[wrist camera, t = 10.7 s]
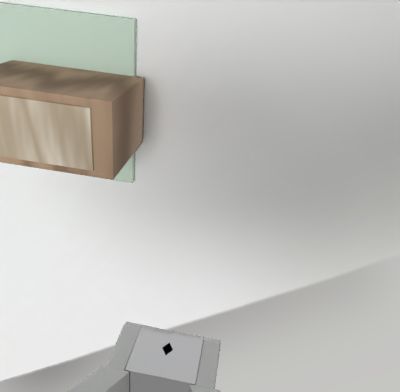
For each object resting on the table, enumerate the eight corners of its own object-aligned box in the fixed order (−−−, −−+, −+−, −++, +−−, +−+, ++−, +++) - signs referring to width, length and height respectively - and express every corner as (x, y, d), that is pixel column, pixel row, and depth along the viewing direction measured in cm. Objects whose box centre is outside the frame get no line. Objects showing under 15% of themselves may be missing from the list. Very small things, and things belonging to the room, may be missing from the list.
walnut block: (110, 102, 26) (-55, 79, 27) (112, 180, 29) (-37, 157, 30) (143, 77, 33) (12, 59, 34) (142, 142, 36) (21, 124, 37)
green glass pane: (136, 18, 31) (134, 19, 31) (134, 180, 38) (132, 182, 38) (-35, -2, 32) (-40, -2, 32) (-5, 158, 40) (-9, 160, 39)
